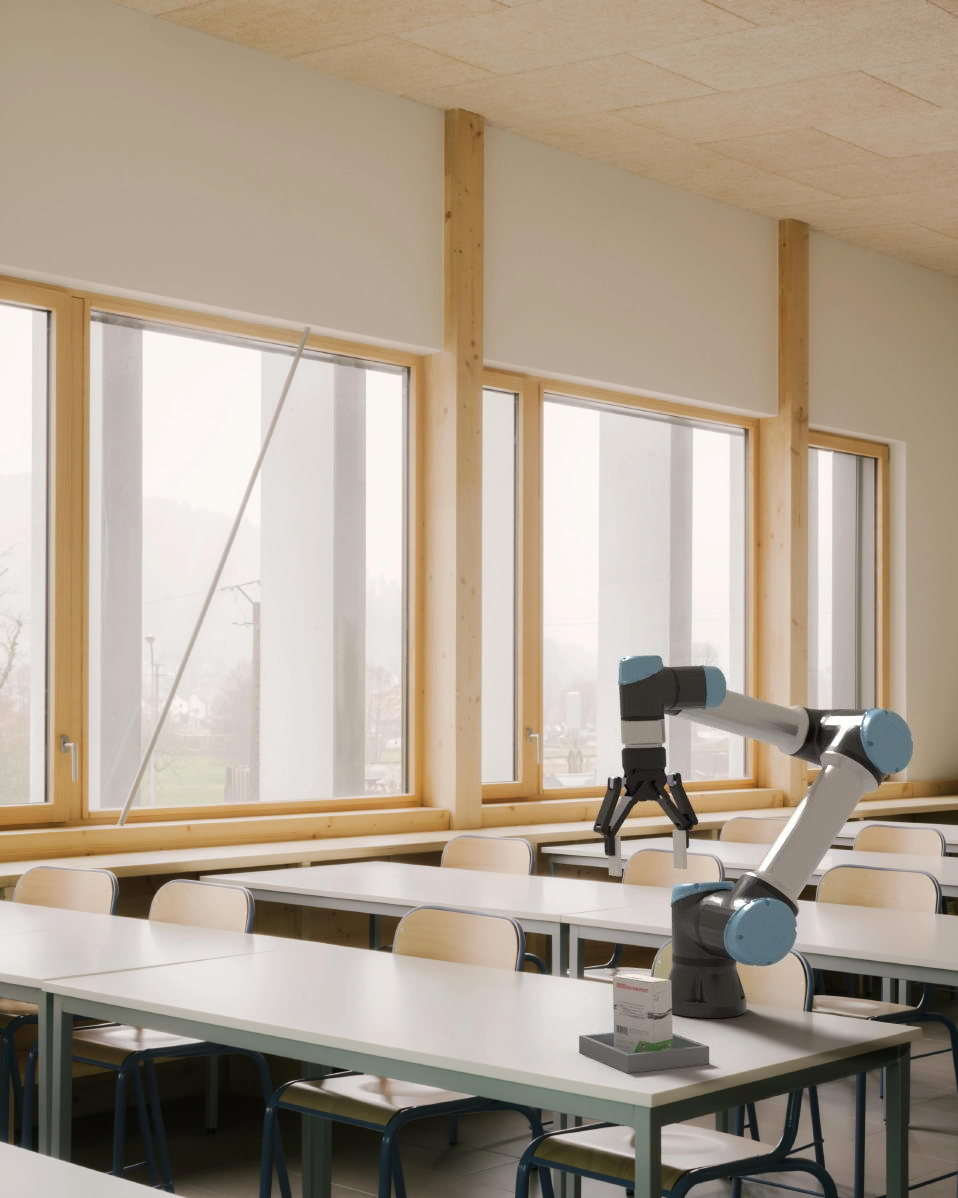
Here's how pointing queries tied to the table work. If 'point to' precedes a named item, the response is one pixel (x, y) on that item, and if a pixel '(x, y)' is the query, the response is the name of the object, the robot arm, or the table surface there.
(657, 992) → the ink box
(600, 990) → the table surface
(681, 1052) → the parts tray
